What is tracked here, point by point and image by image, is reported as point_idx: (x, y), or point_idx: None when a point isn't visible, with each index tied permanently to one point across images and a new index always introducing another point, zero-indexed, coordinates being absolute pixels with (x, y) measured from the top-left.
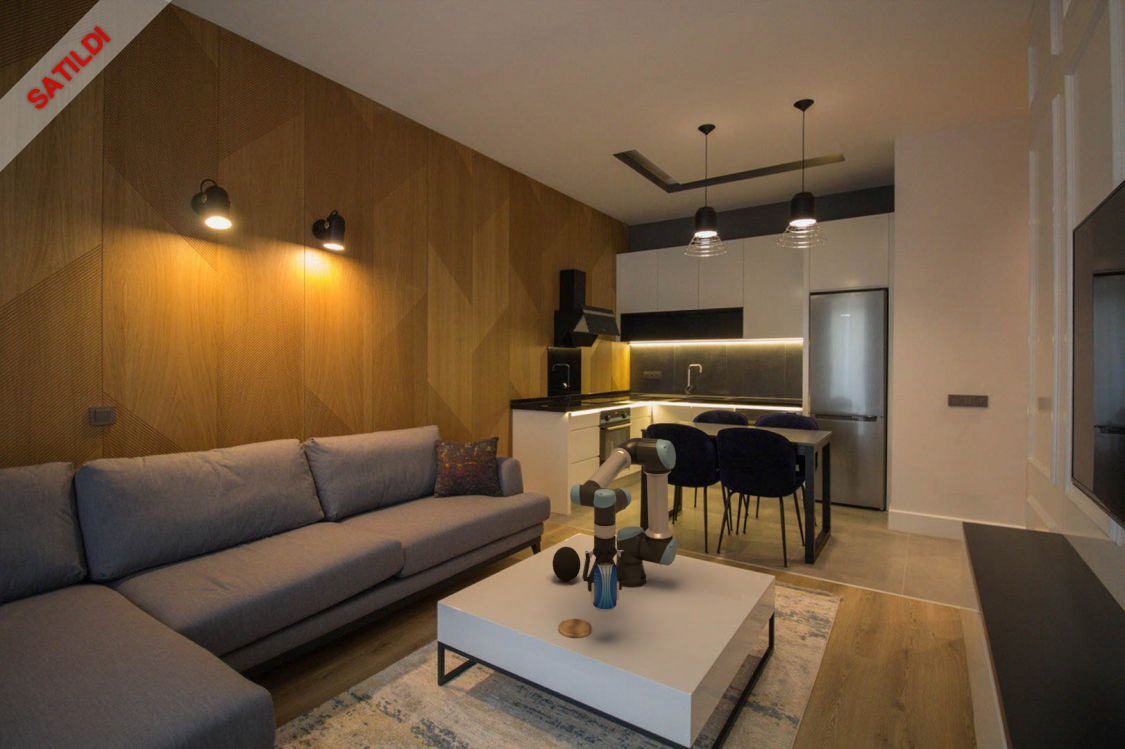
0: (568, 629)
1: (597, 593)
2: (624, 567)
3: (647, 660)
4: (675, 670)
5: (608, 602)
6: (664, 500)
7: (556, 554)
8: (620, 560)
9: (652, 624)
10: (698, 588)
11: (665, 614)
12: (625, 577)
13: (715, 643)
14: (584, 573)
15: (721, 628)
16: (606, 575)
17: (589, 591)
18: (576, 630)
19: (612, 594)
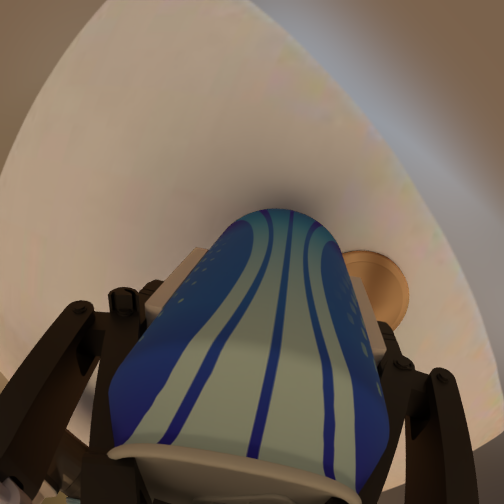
0: (385, 294)
1: (347, 276)
2: (28, 366)
3: (195, 66)
4: (144, 19)
5: (276, 217)
6: None
7: None
8: (24, 445)
9: (117, 259)
10: (29, 352)
11: (82, 294)
12: (77, 307)
13: (25, 139)
14: (465, 419)
15: (5, 200)
16: (275, 331)
17: (382, 322)
18: (365, 281)
19: (235, 237)
